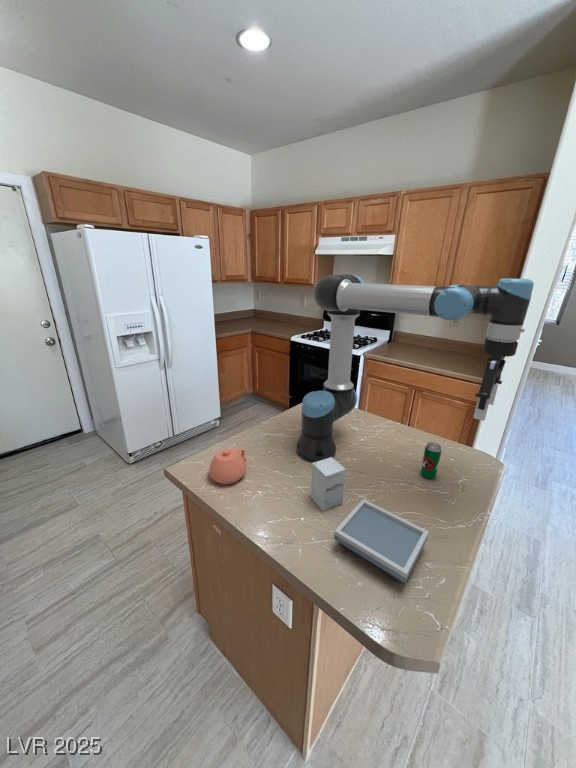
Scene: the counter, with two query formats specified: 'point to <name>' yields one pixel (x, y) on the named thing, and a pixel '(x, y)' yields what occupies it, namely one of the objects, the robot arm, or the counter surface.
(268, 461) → the counter surface
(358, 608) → the counter surface
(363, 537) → the shallow rimmed tray
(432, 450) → the soda can
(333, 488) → the supplement box
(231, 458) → the sugar bowl
